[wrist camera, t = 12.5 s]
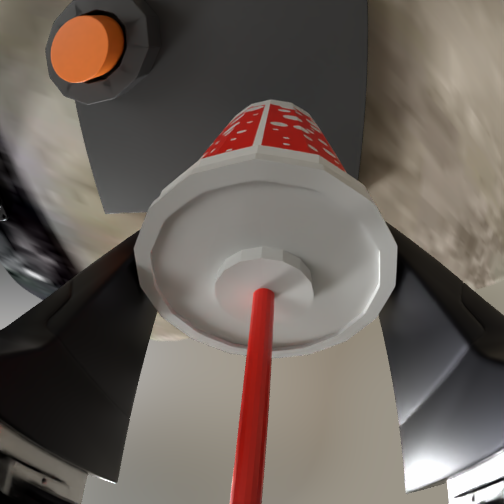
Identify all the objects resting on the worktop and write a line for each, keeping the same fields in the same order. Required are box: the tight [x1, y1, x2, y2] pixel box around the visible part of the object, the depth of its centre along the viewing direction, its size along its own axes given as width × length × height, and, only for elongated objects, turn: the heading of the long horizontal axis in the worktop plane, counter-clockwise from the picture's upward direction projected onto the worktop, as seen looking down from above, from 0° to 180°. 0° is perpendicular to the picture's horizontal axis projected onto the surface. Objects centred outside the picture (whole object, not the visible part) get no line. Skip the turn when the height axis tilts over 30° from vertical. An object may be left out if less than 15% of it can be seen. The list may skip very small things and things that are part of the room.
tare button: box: [51, 15, 124, 83], centre depth 11 cm, size 4×4×2 cm
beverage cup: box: [134, 100, 397, 504], centre depth 9 cm, size 6×6×14 cm
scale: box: [45, 0, 368, 214], centre depth 15 cm, size 17×15×3 cm
